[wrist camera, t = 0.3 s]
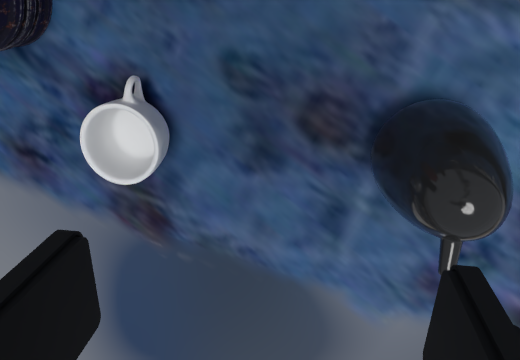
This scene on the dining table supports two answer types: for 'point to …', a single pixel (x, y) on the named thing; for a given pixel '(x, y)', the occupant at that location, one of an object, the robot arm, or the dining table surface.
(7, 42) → the storage jar
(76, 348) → the robot arm
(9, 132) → the dining table surface
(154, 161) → the teacup
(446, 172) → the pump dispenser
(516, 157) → the dining table surface
